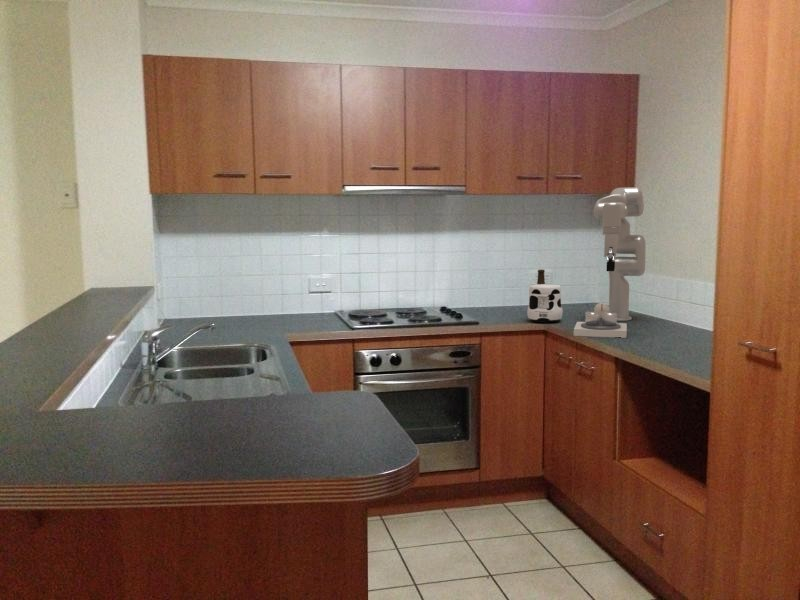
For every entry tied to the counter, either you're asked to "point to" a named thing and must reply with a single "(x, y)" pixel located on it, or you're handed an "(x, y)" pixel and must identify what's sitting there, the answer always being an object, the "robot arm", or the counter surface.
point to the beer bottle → (541, 277)
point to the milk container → (544, 303)
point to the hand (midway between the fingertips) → (610, 270)
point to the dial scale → (601, 326)
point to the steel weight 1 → (592, 318)
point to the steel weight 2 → (609, 319)
